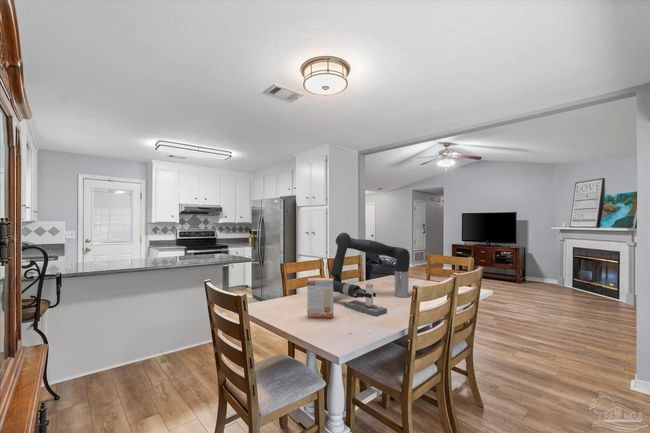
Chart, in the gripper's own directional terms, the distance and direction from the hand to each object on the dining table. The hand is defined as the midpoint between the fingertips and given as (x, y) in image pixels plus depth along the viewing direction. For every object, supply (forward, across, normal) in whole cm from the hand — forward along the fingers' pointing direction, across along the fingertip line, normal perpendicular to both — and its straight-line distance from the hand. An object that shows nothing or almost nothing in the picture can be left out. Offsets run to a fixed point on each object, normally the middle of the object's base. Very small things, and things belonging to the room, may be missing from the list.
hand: (373, 295), depth 181 cm
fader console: (-6, 0, +10) cm, 11 cm away
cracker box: (-14, -28, +10) cm, 33 cm away
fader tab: (-3, 0, +7) cm, 7 cm away
